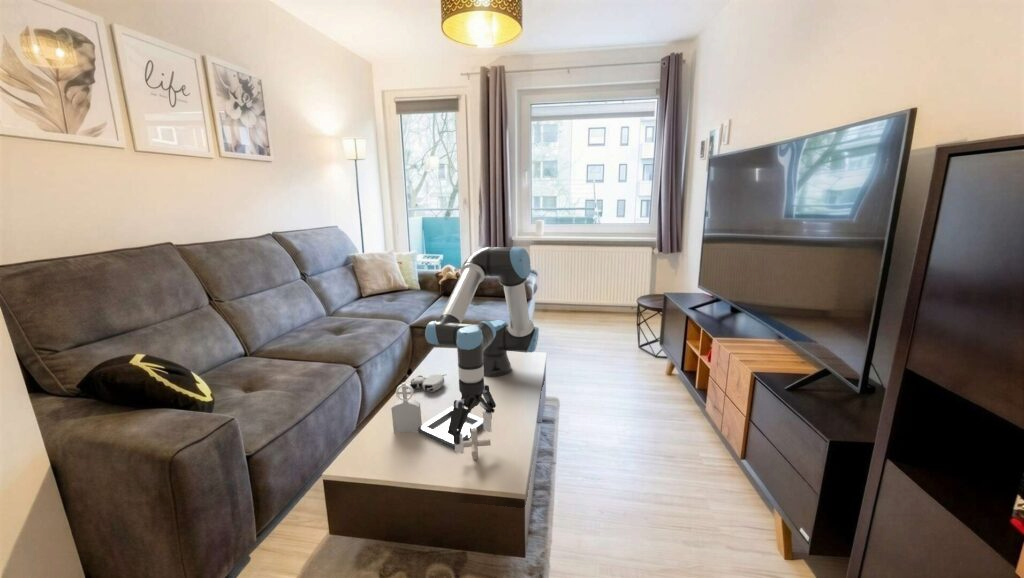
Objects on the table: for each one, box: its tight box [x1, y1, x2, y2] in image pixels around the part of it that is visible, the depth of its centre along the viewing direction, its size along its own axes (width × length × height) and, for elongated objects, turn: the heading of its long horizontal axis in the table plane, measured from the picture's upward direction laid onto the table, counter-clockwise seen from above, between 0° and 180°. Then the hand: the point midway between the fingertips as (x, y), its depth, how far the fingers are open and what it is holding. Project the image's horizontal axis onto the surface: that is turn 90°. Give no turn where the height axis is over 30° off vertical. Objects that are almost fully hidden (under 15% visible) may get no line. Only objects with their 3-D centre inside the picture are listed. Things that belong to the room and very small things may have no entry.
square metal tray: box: [417, 406, 484, 450], centre depth 144 cm, size 17×17×2 cm
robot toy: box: [406, 373, 447, 392], centre depth 175 cm, size 12×4×15 cm
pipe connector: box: [463, 428, 492, 460], centre depth 127 cm, size 10×10×10 cm
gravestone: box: [391, 382, 423, 433], centre depth 142 cm, size 3×9×18 cm, turn 92°
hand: (474, 440), depth 127 cm, fingers open, 13 cm apart
